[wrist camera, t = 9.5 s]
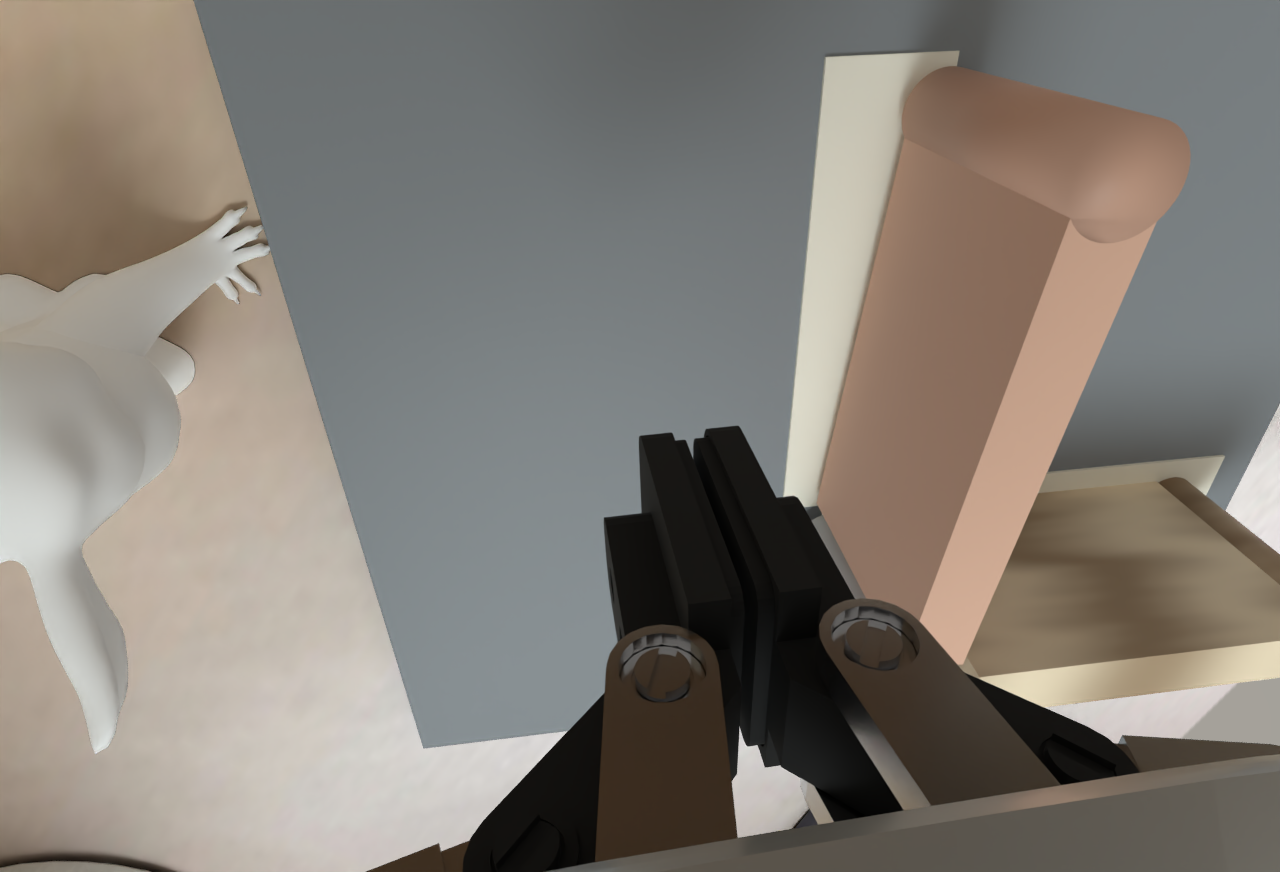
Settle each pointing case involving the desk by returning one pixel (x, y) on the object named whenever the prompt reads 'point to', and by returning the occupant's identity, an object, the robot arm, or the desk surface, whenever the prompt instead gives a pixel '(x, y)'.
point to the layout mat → (684, 271)
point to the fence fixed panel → (1130, 598)
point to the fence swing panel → (982, 331)
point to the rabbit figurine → (95, 432)
